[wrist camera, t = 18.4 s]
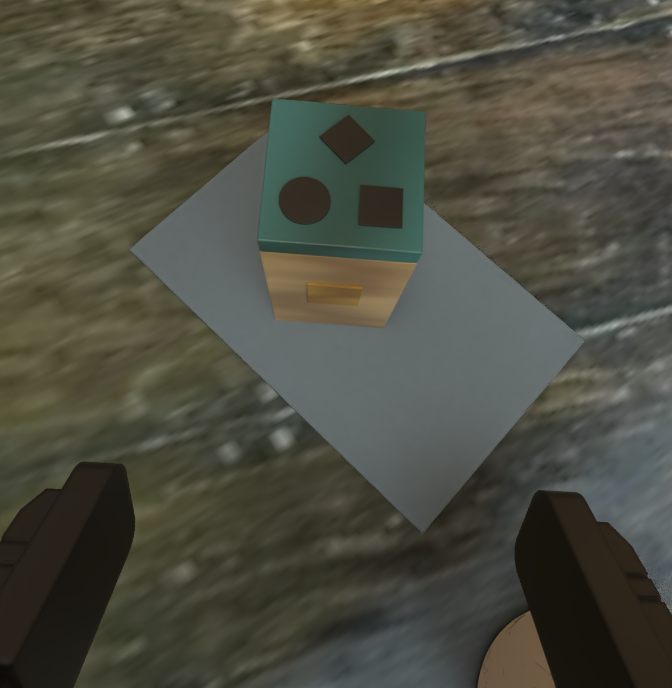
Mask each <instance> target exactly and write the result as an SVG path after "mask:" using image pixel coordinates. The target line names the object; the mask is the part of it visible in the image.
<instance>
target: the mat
mask: <svg viewBox="0 0 672 688" xmlns="http://www.w3.org/2000/svg"><path fill="white" fill-rule="evenodd" d="M268 131H269V130H268ZM268 131H267V132H266V133H265V134H264V135H262V136H261V137H260V138H259V139H258V140H257V141H255V142H254V143H253V144H252V145H251V146H250V147H248V148H247V149H246V150H245V151H244V152H243V153H241V154H240V155H239V156H238V157H237V158H236V159H234V160H233V161H232V162H231V163H230V164H228V165H227V166H226V167H225V168H224V169H223V170H221V171H220V172H219V173H218V174H217V175H216V176H214V177H213V178H212V179H211V180H210V181H209V182H207V183H206V184H205V185H204V186H203V187H202V188H200V189H199V190H198V191H197V192H196V193H194V194H193V195H192V196H191V197H190V198H189V199H187V200H186V201H185V202H184V203H183V204H182V205H180V206H179V207H178V208H177V209H176V210H175V211H173V212H172V213H171V214H170V215H169V216H168V217H166V218H165V219H164V220H163V221H162V222H160V223H159V224H158V225H157V226H156V227H155V228H153V229H152V230H151V231H150V232H149V233H148V234H146V235H145V236H144V237H143V238H142V239H141V240H139V241H138V242H137V243H136V244H135V245H134V246H132V247H131V248H130V251H131V252H132V253H133V254H134V255H135V256H136V257H137V258H138V259H139V260H140V261H141V262H142V263H143V264H144V265H145V266H146V267H147V268H148V269H149V270H150V271H151V272H152V273H154V274H155V275H156V276H157V277H158V278H159V279H160V280H161V281H162V282H163V283H164V284H165V285H166V286H167V287H168V288H169V289H170V290H171V291H172V292H173V293H174V294H175V295H176V296H177V297H178V298H179V299H180V300H181V301H182V302H183V303H184V304H185V305H187V306H188V307H189V308H190V309H191V310H192V311H193V312H194V313H195V314H196V315H197V316H198V317H199V318H200V319H201V320H202V321H203V322H204V323H205V324H206V325H207V326H208V327H209V328H210V329H211V330H212V331H213V332H214V333H215V334H216V335H217V336H219V337H220V338H221V339H222V340H223V341H224V342H225V343H226V344H227V345H228V346H229V347H230V348H231V349H232V350H233V351H234V352H235V353H236V354H237V355H238V356H239V357H240V358H241V359H242V360H243V361H244V362H245V363H246V364H247V365H248V366H249V367H250V368H252V369H253V370H254V371H255V372H256V373H257V374H258V375H259V376H260V377H261V378H262V379H263V380H264V381H265V382H266V383H267V384H268V385H269V386H270V387H271V388H272V389H273V390H274V391H275V392H276V393H277V394H278V395H279V396H280V397H281V398H282V399H283V400H285V401H286V402H287V403H288V404H289V405H290V406H291V407H292V408H293V409H294V410H295V411H296V412H297V413H298V414H299V415H300V416H301V417H302V418H303V419H304V420H305V421H306V422H307V423H308V424H309V425H310V426H311V427H312V428H313V429H314V430H315V431H316V432H318V433H319V434H320V435H321V436H322V437H323V438H324V439H325V440H326V441H327V442H328V443H329V444H330V445H331V446H332V447H333V448H334V449H335V450H336V451H337V452H338V453H339V454H340V455H341V456H342V457H343V458H344V459H345V460H346V461H347V462H348V463H350V464H351V465H352V466H353V467H354V468H355V469H356V470H357V471H358V472H359V473H360V474H361V475H362V476H363V477H364V478H365V479H366V480H367V481H368V482H369V483H370V484H371V485H372V486H373V487H374V488H375V489H376V490H377V491H378V492H379V493H380V494H381V495H383V496H384V497H385V498H386V499H387V500H388V501H389V502H390V503H391V504H392V505H393V506H394V507H395V508H396V509H397V510H398V511H399V512H400V513H401V514H402V515H403V516H404V517H405V518H406V519H407V520H408V521H409V522H410V523H411V524H412V525H413V526H414V527H416V528H417V529H418V530H419V531H420V532H421V533H424V532H425V530H426V529H427V528H428V527H429V526H430V524H431V523H432V522H433V521H434V520H435V519H436V517H437V516H438V515H439V514H440V513H441V511H442V510H443V509H444V508H445V507H446V505H447V504H448V503H449V502H450V501H451V499H452V498H453V497H454V496H455V495H456V494H457V492H458V491H459V490H460V489H461V488H462V486H463V485H464V484H465V483H466V482H467V480H468V479H469V478H470V477H471V476H472V474H473V473H474V472H475V471H476V470H477V469H478V467H479V466H480V465H481V464H482V463H483V461H484V460H485V459H486V458H487V457H488V455H489V454H490V453H491V452H492V451H493V449H494V448H495V447H496V446H497V445H498V444H499V442H500V441H501V440H502V439H503V438H504V436H505V435H506V434H507V433H508V432H509V430H510V429H511V428H512V427H513V426H514V424H515V423H516V422H517V421H518V420H519V419H520V417H521V416H522V415H523V414H524V413H525V411H526V410H527V409H528V408H529V407H530V405H531V404H532V403H533V402H534V401H535V399H536V398H537V397H538V396H539V395H540V394H541V392H542V391H543V390H544V389H545V388H546V386H547V385H548V384H549V383H550V382H551V380H552V379H553V378H554V377H555V376H556V375H557V373H558V372H559V371H560V370H561V369H562V367H563V366H564V365H565V364H566V363H567V361H568V360H569V359H570V358H571V357H572V355H573V354H574V353H575V352H576V351H577V350H578V348H579V347H580V346H581V345H582V344H583V342H584V341H585V340H584V339H583V338H581V337H580V336H579V335H578V334H577V333H576V332H574V331H573V330H572V329H571V328H570V327H568V326H567V325H566V324H565V323H564V322H563V321H561V320H560V319H559V318H558V317H557V316H556V315H554V314H553V313H552V312H551V311H550V310H549V309H547V308H546V307H545V306H544V305H543V304H542V303H540V302H539V301H538V300H537V299H536V298H535V297H533V296H532V295H531V294H530V293H529V292H528V291H526V290H525V289H524V288H523V287H522V286H521V285H519V284H518V283H517V282H516V281H515V280H514V279H512V278H511V277H510V276H509V275H508V274H507V273H505V272H504V271H503V270H502V269H501V268H500V267H498V266H497V265H496V264H495V263H494V262H492V261H491V260H490V259H489V258H488V257H487V256H485V255H484V254H483V253H482V252H481V251H480V250H478V249H477V248H476V247H475V246H474V245H473V244H471V243H470V242H469V241H468V240H467V239H466V238H464V237H463V236H462V235H461V234H460V233H459V232H457V231H456V230H455V229H454V228H453V227H452V226H450V225H449V224H448V223H447V222H446V221H445V220H443V219H442V218H441V217H440V216H439V215H438V214H436V213H435V212H434V211H433V210H432V209H431V208H429V207H428V206H427V205H426V204H425V203H424V216H423V253H422V255H421V257H420V259H419V261H418V263H417V265H416V267H415V269H414V271H413V273H412V274H411V276H410V278H409V280H408V282H407V284H406V286H405V288H404V290H403V292H402V294H401V296H400V297H399V299H398V301H397V303H396V305H395V307H394V309H393V311H392V313H391V315H390V317H389V319H388V320H387V322H386V324H385V326H384V328H377V327H363V326H350V325H336V324H322V323H308V322H294V321H280V320H275V316H274V312H273V308H272V303H271V299H270V295H269V291H268V286H267V282H266V278H265V273H264V269H263V265H262V260H261V256H260V252H259V247H258V242H257V233H258V224H259V215H260V205H261V196H262V187H263V177H264V168H265V159H266V149H267V140H268Z"/></svg>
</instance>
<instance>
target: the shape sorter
mask: <svg viewBox="0 0 672 688" xmlns="http://www.w3.org/2000/svg"><path fill="white" fill-rule="evenodd" d="M425 118H426V113H425V112H423V111H411V110H400V109H388V108H377V107H365V106H354V105H342V104H331V103H320V102H308V101H297V100H285V99H272V103H271V112H270V121H269V131H268V140H267V149H266V159H265V168H264V177H263V187H262V196H261V205H260V215H259V224H258V233H257V242H258V247H259V252H260V256H261V260H262V265H263V269H264V273H265V278H266V282H267V286H268V291H269V295H270V299H271V303H272V308H273V312H274V316H275V320H280V321H294V322H308V323H322V324H336V325H350V326H363V327H377V328H384V326H385V324H386V322H387V320H388V319H389V317H390V315H391V313H392V311H393V309H394V307H395V305H396V303H397V301H398V299H399V297H400V296H401V294H402V292H403V290H404V288H405V286H406V284H407V282H408V280H409V278H410V276H411V274H412V273H413V271H414V269H415V267H416V265H417V263H418V261H419V259H420V257H421V255H422V253H423V216H424V167H425Z"/></svg>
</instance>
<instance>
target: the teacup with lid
mask: <svg viewBox="0 0 672 688" xmlns="http://www.w3.org/2000/svg"><path fill="white" fill-rule="evenodd" d="M478 688H556V687H555V684H554V681H553V678H552V675H551V672H550V669H549V666H548V663H547V660H546V657H545V654H544V651H543V648H542V645H541V642H540V639H539V636H538V633H537V630H536V627H535V624H534V621H533V619H532V616H531V613H530V611H529V612H526V613H524V614H523V615H521V616H519V617H517V618H516V619H514V620H513V621H512V622H511V623H509V624H508V625H507V626H506V627H505V628H504V629H503V630H502V631H501V632H500V633H499V635H498V636H497V637H496V638H495V640H494V641H493V643H492V645H491V646H490V648H489V650H488V652H487V654H486V656H485V659H484V661H483V664H482V668H481V671H480V675H479V681H478Z"/></svg>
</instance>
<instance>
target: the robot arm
mask: <svg viewBox="0 0 672 688" xmlns="http://www.w3.org/2000/svg"><path fill="white" fill-rule="evenodd" d="M134 530H135V515H134V509H133V504H132V499H131V493H130V488H129V483H128V478H127V472H126V468H125V466H124V465H123V464H115V463H98V462H80V463H79V464H78V465H77V466H76V467H75V468H74V470H73V471H72V473H71V474H70V476H69V478H68V479H67V481H66V482H65V484H64V486H63V487H62V489H45V490H44V491H43V492H42V493H40V494H39V495H38V496H37V497H36V498H34V499H33V500H32V501H31V502H29V503H28V504H27V505H26V506H24V507H23V508H22V509H21V510H20V511H19V512H18V514H17V515H16V517H15V518H14V520H13V521H12V523H11V524H10V526H9V527H8V529H7V530H6V531H5V533H4V534H3V536H2V541H1V542H0V688H73V687H74V685H75V683H76V680H77V678H78V675H79V673H80V670H81V668H82V665H83V663H84V661H85V658H86V656H87V653H88V651H89V648H90V646H91V644H92V641H93V639H94V636H95V634H96V631H97V629H98V626H99V624H100V622H101V619H102V617H103V614H104V612H105V609H106V607H107V605H108V602H109V600H110V597H111V595H112V592H113V590H114V587H115V585H116V583H117V580H118V578H119V575H120V573H121V570H122V568H123V566H124V563H125V561H126V558H127V556H128V553H129V551H130V548H131V545H132V541H133V537H134ZM515 565H516V570H517V573H518V577H519V580H520V583H521V586H522V589H523V592H524V595H525V598H526V601H527V604H528V607H529V610H530V613H531V616H532V619H533V621H534V624H535V627H536V630H537V633H538V636H539V639H540V642H541V645H542V648H543V651H544V654H545V657H546V660H547V663H548V666H549V669H550V672H551V675H552V678H553V681H554V684H555V687H556V688H672V615H671V613H670V611H669V610H668V608H667V606H666V604H665V603H664V602H662V601H661V599H660V597H661V596H660V594H659V592H658V591H657V589H656V587H655V585H654V584H653V582H652V580H651V579H648V577H647V574H648V573H647V572H646V570H645V568H644V566H643V565H642V563H641V561H640V559H639V558H638V556H637V554H636V553H635V551H634V549H633V547H632V546H631V545H630V544H629V543H628V542H627V541H626V540H625V539H624V538H623V537H622V536H621V535H620V534H619V533H618V532H617V531H616V530H615V529H614V528H613V527H612V526H611V525H610V524H609V523H608V522H597V521H596V519H595V517H594V515H593V513H592V511H591V510H590V508H589V506H588V504H587V502H586V500H585V499H584V497H583V496H582V495H581V494H579V493H577V492H561V491H544V490H539V491H537V492H536V493H535V494H534V496H533V498H532V501H531V503H530V506H529V508H528V511H527V513H526V516H525V518H524V521H523V523H522V526H521V528H520V531H519V534H518V536H517V539H516V543H515Z"/></svg>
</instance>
